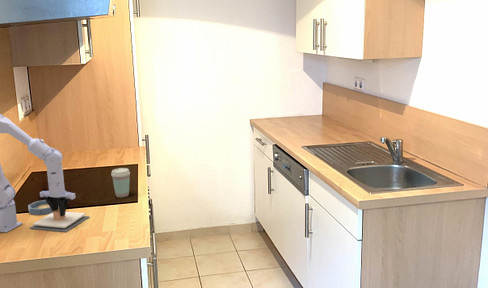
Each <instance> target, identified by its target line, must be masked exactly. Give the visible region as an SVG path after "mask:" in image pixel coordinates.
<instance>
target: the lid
mask: <svg viewBox="0 0 488 288" xmlns="http://www.w3.org/2000/svg"><path fill="white" fill-rule="evenodd" d="M83 216H87V215H86V213H85V212H73V211H66V212H65V215H64V216H61V215H60V210H59V208H58V209H57V210H55V211H53V212H52V213H51V214H46V215H45V216H44V217H42V218H40V219H39V220H37V221H35V222H34V223H32V226H33V225H35V226H46V227H57V228H66V227H68V226H69V225H71V224H72V223H74V222H75V221H77V220H78V219H80V218H81V217H83Z"/></svg>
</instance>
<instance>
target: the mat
mask: <svg viewBox="0 0 488 288" xmlns="http://www.w3.org/2000/svg"><path fill="white" fill-rule="evenodd" d="M88 219H90V215H89V216H88V215H84V216H83V217H81V218H80V219H78V220H77V221H75V222H74V223H72V224H71V225H69V226H68V227H66V228H57V227H46V226H35V225H33V224H32V225H31V226H30V227H29V230H38V231H47V232H58V233H68V232H69V231H70V230H72V229H74V228H76V226H78V225H80V224H82V223H83V222H85V221H86V220H88Z"/></svg>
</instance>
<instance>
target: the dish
mask: <svg viewBox="0 0 488 288" xmlns="http://www.w3.org/2000/svg"><path fill="white" fill-rule="evenodd" d="M27 208H28V212H29V215H35V216H44V215H45V216H46V215H49V214H51V213H52V210H51V208H50V206H49V204H48V203H47V202H46V199H43V200H37V201H34V202H32V203H30V204H28V205H27ZM58 208H59V206H58Z"/></svg>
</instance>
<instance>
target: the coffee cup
mask: <svg viewBox="0 0 488 288" xmlns="http://www.w3.org/2000/svg"><path fill="white" fill-rule="evenodd" d="M130 174H131V171H130V169H129V168H127V167H119V168H114V169H112V170H111V174H110V175H111V176H110V177H111V178H112V183H113V187H114V188H113V189H114V194H115V196H116V197H117V198H126V197H128V196H129V194H130V179H131V178H130V177H131V175H130Z"/></svg>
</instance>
